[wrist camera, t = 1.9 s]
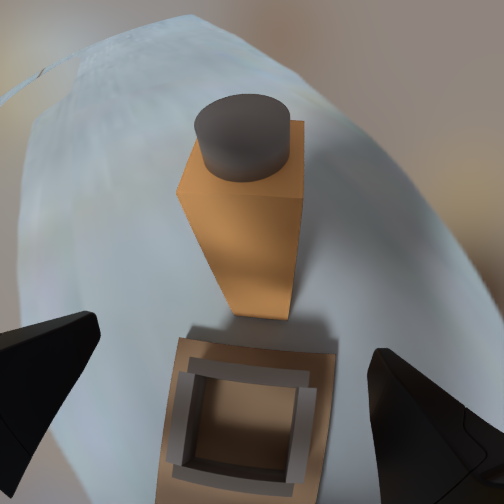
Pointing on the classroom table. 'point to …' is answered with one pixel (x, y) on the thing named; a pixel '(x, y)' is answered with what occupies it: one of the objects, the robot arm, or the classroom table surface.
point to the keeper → (244, 425)
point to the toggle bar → (247, 200)
